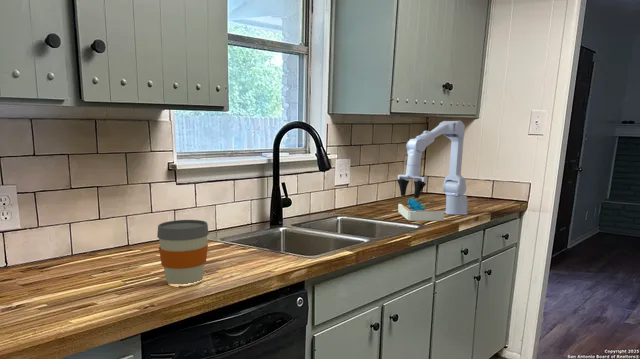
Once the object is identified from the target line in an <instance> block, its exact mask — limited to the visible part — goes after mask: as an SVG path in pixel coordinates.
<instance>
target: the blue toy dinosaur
mask: <svg viewBox="0 0 640 359" xmlns="http://www.w3.org/2000/svg"><path fill="white" fill-rule="evenodd" d="M407 205H408V209H411V210H410V211H427V210H426V209H425V208H426V205H425V204H423V205H422V202H421V201H419V202H418V198H414V197H411V198H409V199H408V200H407Z"/></svg>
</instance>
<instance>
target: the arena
mask: <svg viewBox="0 0 640 359" xmlns="http://www.w3.org/2000/svg"><path fill="white" fill-rule="evenodd" d="M397 209H398V210H397V212H398V213H399V214H400V215H401V216H403V218H405V219H406V220H408V221H411V222H413V221H414V222H417V221H418V222H422V221H426V222H427V221H428V222H429V221H430V222H431V221H432V222H433V221H438V222H441V221H443V222H444V221H445V213H444V211H445V210H433V209H432V210H426V211H411V210H410V209H411V208H409V207H407V206H406V205H403V204H402V203H398V208H397Z"/></svg>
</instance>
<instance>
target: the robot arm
mask: <svg viewBox="0 0 640 359" xmlns="http://www.w3.org/2000/svg"><path fill="white" fill-rule="evenodd" d="M465 130H466V125H465V124H464V123H463V121H462V120H443V121H441V122H439V124H438V125H437V126H435V127H434V128H433V129H431V131H429V130H424V131H423V132H422V133H421V134H420V135H417V136H416V137H415V138H410V139H409V140H408V141H407V142H406V145H405V146H406V149H407V151H406V152H407V153H406V154H407V162H406V171H405V174H398V175H397V180H396V182H397V183H398V186H399V190H400V196H401V197H405V196H406V194H407V188H408V185H409V182H410V181H413V184H414V194H413V198H414V199H419V198H420V195H421V193H422V192H423V189H424V187H425V186H426V184H427V179H428V178H427V177H425V176H420V171H421V163H422V161H421V160H422V154H423V152H425V150H426V148H427V147H428V146H429V145H431V144H432V143H434V142H435V138H438V137H440V136H441V135H443V136H445V137H446V138H448V139H449V140H450V141H451V145H450V146H451V147H450V158H449V167H448V168H449V169H448V174H447V175H446V176H445V177H444V179H443V180H444V182H443V184H442V191H443V193H444V194H445V198H446V199H445V201H446V202H445V210H443V211H444V214H446V215H447V216H448V215H456V216H457V215H460V216H461V215H468V196H467V195H465V193H466V191H467V184H466V178H465V177H464V176H463V175H461V174H462V163H463V162H462V161H463V151H464V138H465Z"/></svg>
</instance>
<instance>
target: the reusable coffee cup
mask: <svg viewBox="0 0 640 359" xmlns="http://www.w3.org/2000/svg"><path fill="white" fill-rule="evenodd" d="M209 233H210V232H209V224H208V221H204V220H199V219H179V220H177V219H176V220H170V221H164V222H161V223H159V224H158V225H157V235H156V237H157V238H158V240H159V247H158V251H159V252H158V253H159V257H160V262H161V266H162V267H163V271H164V277H165V282H166V281H167V282H169V283H172V284H188V283H194V282H197V281H200V280H202V279H203V280H204V272H205V271H204V269H205V264H206V263H207V257H208V248H209V247H208V246H209V244H208V243H207V242H208V235H209Z"/></svg>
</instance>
